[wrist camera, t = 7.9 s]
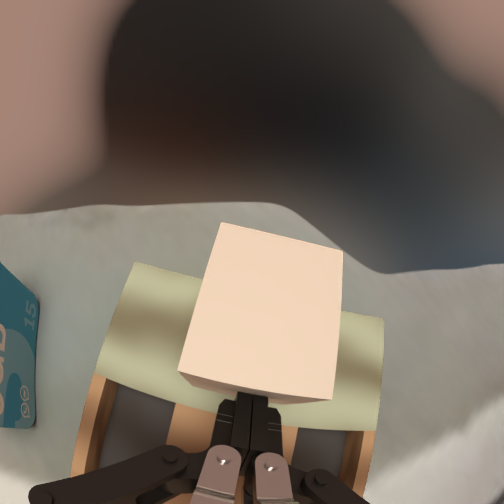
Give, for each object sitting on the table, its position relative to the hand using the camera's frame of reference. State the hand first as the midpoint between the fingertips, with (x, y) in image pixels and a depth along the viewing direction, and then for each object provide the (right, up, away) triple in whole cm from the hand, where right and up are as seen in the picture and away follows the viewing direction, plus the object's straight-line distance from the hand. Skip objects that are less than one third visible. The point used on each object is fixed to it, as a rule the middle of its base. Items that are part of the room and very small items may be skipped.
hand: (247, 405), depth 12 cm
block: (0, +1, +6) cm, 6 cm away
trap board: (-2, -8, +4) cm, 9 cm away
